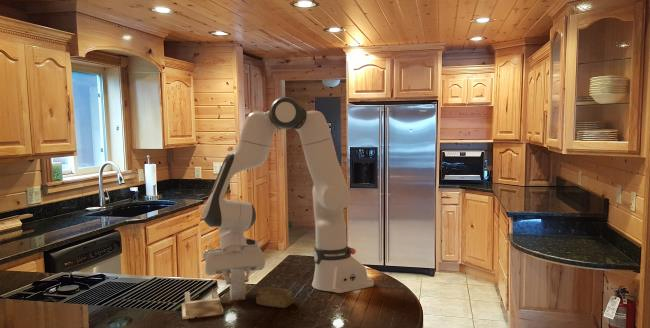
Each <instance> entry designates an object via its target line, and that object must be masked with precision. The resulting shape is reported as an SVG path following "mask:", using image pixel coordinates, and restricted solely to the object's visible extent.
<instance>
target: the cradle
mask: <svg viewBox="0 0 650 328" xmlns="http://www.w3.org/2000/svg"><path fill="white" fill-rule="evenodd" d="M218 315H219V316H220V315H224V308H223V305H222V302H221V298H220V297H219V293H218V290H217V288H211V298H207V299H200V300H199V299H198V300H193V301H192V300H191V293H190V291H185V292H184V302H182V303H181V316H182V320H189V318H190V319H194V318H195V317H197V318H204V317H211V316H218ZM195 319H196V318H195Z"/></svg>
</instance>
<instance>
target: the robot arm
mask: <svg viewBox="0 0 650 328" xmlns="http://www.w3.org/2000/svg"><path fill="white" fill-rule="evenodd" d="M278 130H295V131H296V132H297V133H298V135H299V139H300V141H301V142H300V143H301V147H302V151H303V154H304V157H305V162H306V166H307V169H308V171H309V173H310V177H311V180H312V182H313V185H312V205H313V213H314V214H313V215H314V216H313V217H314V222H315V223H314V224H315V246H314V253H313V255H314V257H313V258H314V263H315V267H314V273H313V279H312V283H311V287H312V288H314V289H315V290H319V291H323V292H332V293H337V294H343V293H348V292H351V291H356V290H361V289H366V288H371V287H374V286H375V284H374V283H375V282H374V280H373V279H372V277H370V276H368V273H367V269H366V267H365V265H364V264H362V263H361V262H360V261H359V260H357V259H356V258H355V257H354V256H352V255H356V253H357V251H356V250H357V249H355V248H353V247H350V246H348V245H347V224H346V220H345V214H344V209H345V208H347V206H349V204H350V201H351V192H350V190H349V188H348V184H347V182H346V178H345V175H344V172H343V170H342V167H341V165H340V163H339V159H338V156H337V153H336V149H335V148H336V147H335V144H334V141H333V137H332V134H331V130H330V127H329V125H328V122H327V120H326V117H325V115H324V114H323V113H322V112H321V111H318V110H306V109H305V108H304V107H303V106H302V105H301V104H300V103H299V102H298V101H297V100H296V99H294V98H293V97H290V96H281V97H278V98H276V99H275V100H274V101H273V102H272V104H271V106H270V109H269V110H268V111H265V112H264V111H263V112H262V111H252V112H251V113H249V114H248V115H247V117H246V119H245V121H244V124H243V125H242V129H241V133H240V136H239V141H238V144H237V146H236V148H235V149H234V150H233V151H232V152H230V153H228V154H227V155H226V157H224V159H223V162H222V164H221V166H220V169H219V171H218V173H217V176H216V178H215V181H214V184H213V186H212V188H211V190H210V193H209V195H208V197H207V198H206V200H205V203H204V205H203V207H202V211H201V218H202V220H203V221H204V223H205V224H206V225H207V226H209V227H210V228H217V230H218V234H219V237H220V238H219V248H208V249H206V250H205V251H204V252H203V253H202V254H203V255H202V257H203V260H204V262H205V265H204V266H205V267H204V268H205V275H207V276H214V275H215V276H216V275H221V278H223V279H224V281H225V284H226V285H230V284H231V279H230V276H229V277H228V275H227V274H230V273H229V269H230V268H235V267H243V268H244V269H245V283H249V280H250V279H249V277H250V274H251V272H252V271H262V270H263V269H264V268H265V265H266V261H265V260H266V259H265V257H264V253H263V251H262V250H263V249H261V248H260V246H259V240H257V239H254V238H247V237H245V236H244V235H245V232H247V231H248V230H249V229H251V227H252V226H254V224H255V223H256V221H257V220H256V219H257V213H256V209H255V206H254V205H253V203H251V202H250V201H249V202H248V201H244V200H236V199H235V200H234V199H228V198H227V199H226V198H224V197H225V194H226V192H227V190H228V188H229V185H230V183H231V181H232V178H233V177H234V175H236V174H238V173H240V172H243V171H247V170H252V169H256V168H259V167H260V166H262V165H263V164H264V163H265V162H267V161H268V160H267V159H268V157H269V154H270V151H271V145H272V141H273V137H274V134H275V133H276V131H278Z"/></svg>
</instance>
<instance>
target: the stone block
mask: <svg viewBox="0 0 650 328" xmlns="http://www.w3.org/2000/svg"><path fill="white" fill-rule="evenodd" d="M255 302H256V305H259V306H265V307H272V308H280V309H283V308H284V309H285V308H288V307H289V306H291V305H293V303H294V293H293V291H292V290H291V289H288V288H287V289H286V288H280V287H271V286H264V287H261V288H260V289H259V290H258V289H257V291H256V298H255Z"/></svg>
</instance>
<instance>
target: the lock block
mask: <svg viewBox="0 0 650 328" xmlns="http://www.w3.org/2000/svg"><path fill="white" fill-rule="evenodd" d="M228 274H229V277H230V279H231V284H229V296H230V300H231V301H233V302H234V301H240V300H246V282H245V276H246V271H245V269H244V268H243V267H235V268H230V269H229V273H228Z"/></svg>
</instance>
